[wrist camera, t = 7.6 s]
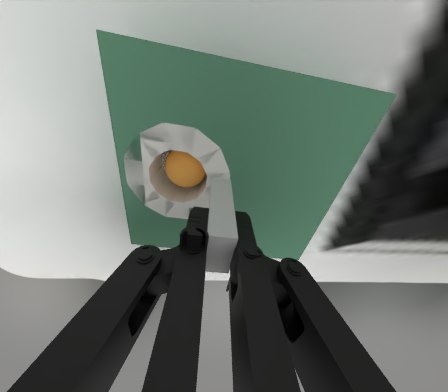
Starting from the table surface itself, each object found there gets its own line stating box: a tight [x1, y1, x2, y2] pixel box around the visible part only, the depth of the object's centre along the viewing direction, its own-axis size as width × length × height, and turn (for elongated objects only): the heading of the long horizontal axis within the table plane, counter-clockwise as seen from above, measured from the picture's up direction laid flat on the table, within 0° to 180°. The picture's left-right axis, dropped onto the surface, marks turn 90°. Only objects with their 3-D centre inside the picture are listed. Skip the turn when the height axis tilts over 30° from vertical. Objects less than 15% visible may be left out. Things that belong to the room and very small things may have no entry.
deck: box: [96, 30, 397, 260], centre depth 17 cm, size 18×20×4 cm
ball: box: [165, 150, 206, 187], centre depth 17 cm, size 4×4×4 cm
